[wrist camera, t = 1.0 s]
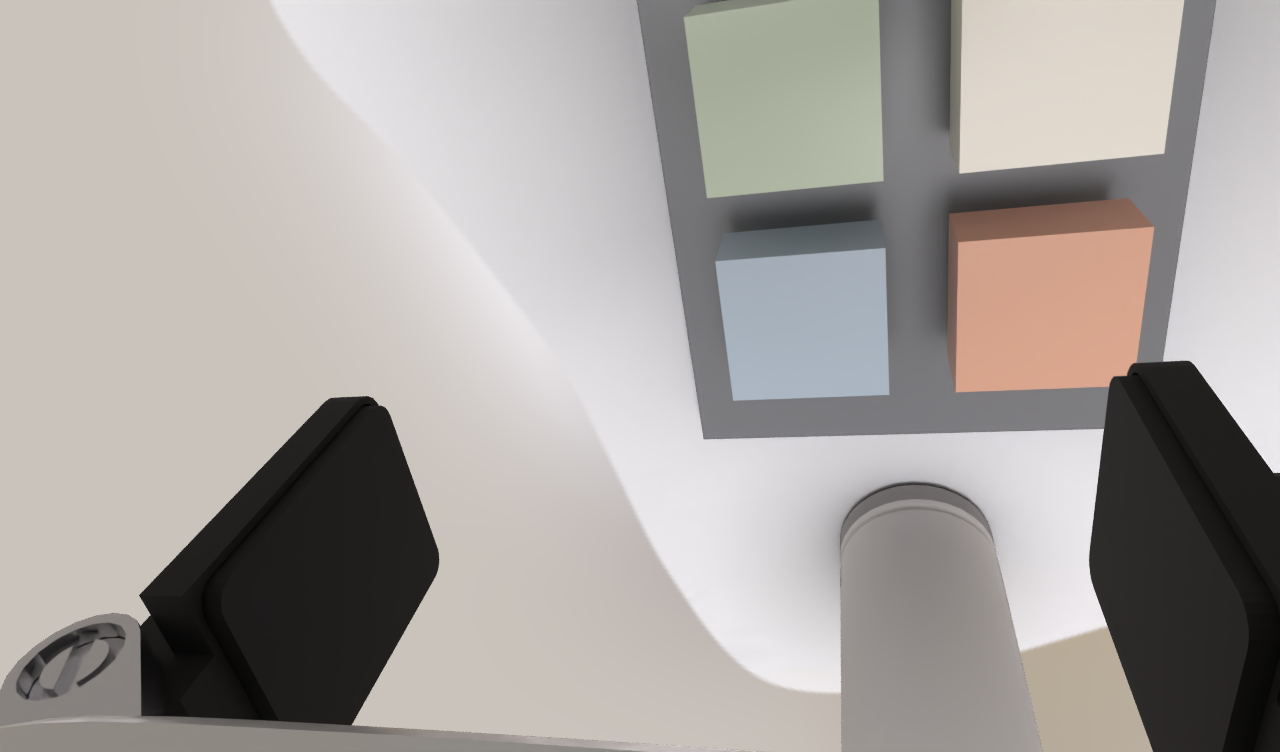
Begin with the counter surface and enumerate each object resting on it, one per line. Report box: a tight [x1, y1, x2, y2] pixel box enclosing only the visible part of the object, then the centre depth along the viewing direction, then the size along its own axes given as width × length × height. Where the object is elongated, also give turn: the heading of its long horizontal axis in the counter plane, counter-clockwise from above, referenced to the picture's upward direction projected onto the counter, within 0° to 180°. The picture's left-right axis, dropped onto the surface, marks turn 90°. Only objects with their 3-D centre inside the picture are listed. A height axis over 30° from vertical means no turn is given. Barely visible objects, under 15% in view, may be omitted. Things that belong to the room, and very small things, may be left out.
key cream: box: [950, 0, 1184, 174], centre depth 23 cm, size 5×5×2 cm
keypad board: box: [637, 0, 1216, 439], centre depth 28 cm, size 16×20×2 cm
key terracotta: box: [947, 198, 1154, 392], centre depth 26 cm, size 5×5×2 cm
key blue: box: [715, 220, 889, 401], centre depth 28 cm, size 5×5×2 cm
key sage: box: [684, 0, 884, 198], centre depth 24 cm, size 5×5×2 cm
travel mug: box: [840, 485, 1043, 752], centre depth 29 cm, size 6×7×20 cm
